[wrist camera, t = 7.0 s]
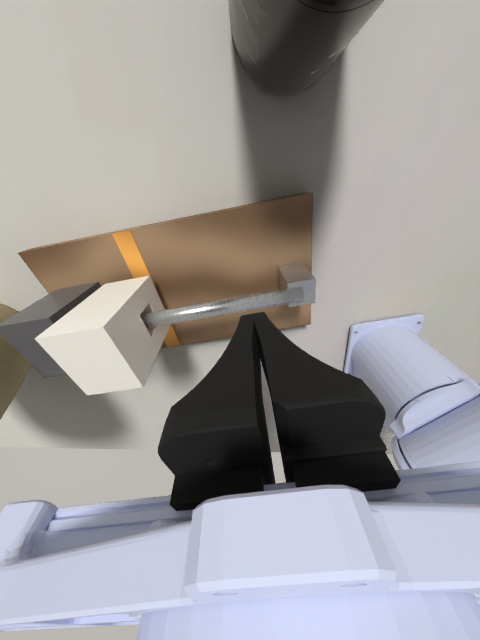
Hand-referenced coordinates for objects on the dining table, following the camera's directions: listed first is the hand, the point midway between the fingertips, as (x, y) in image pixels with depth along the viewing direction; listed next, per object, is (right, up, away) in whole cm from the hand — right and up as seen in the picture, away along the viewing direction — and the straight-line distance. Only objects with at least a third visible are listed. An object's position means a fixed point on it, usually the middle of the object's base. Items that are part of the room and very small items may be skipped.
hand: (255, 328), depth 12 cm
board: (-6, +4, +9) cm, 12 cm away
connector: (-15, +2, +8) cm, 17 cm away
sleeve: (-10, +2, +7) cm, 12 cm away
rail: (-5, +3, +8) cm, 10 cm away
